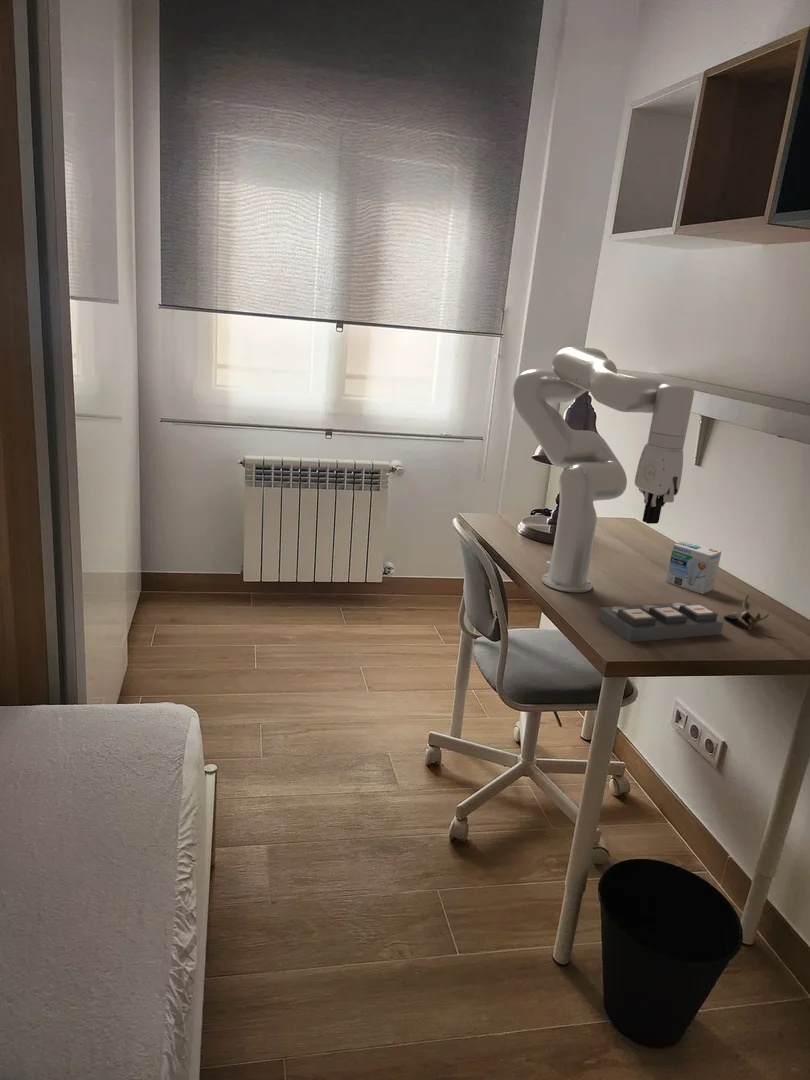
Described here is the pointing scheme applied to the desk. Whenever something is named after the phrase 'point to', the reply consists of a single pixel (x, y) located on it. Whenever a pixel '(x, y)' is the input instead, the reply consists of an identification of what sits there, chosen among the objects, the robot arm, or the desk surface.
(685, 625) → the button panel
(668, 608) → the middle button
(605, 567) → the desk surface
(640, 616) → the left button
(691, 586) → the light bulb box
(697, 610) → the right button
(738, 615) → the eagle figurine
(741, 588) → the desk surface
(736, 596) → the desk surface
